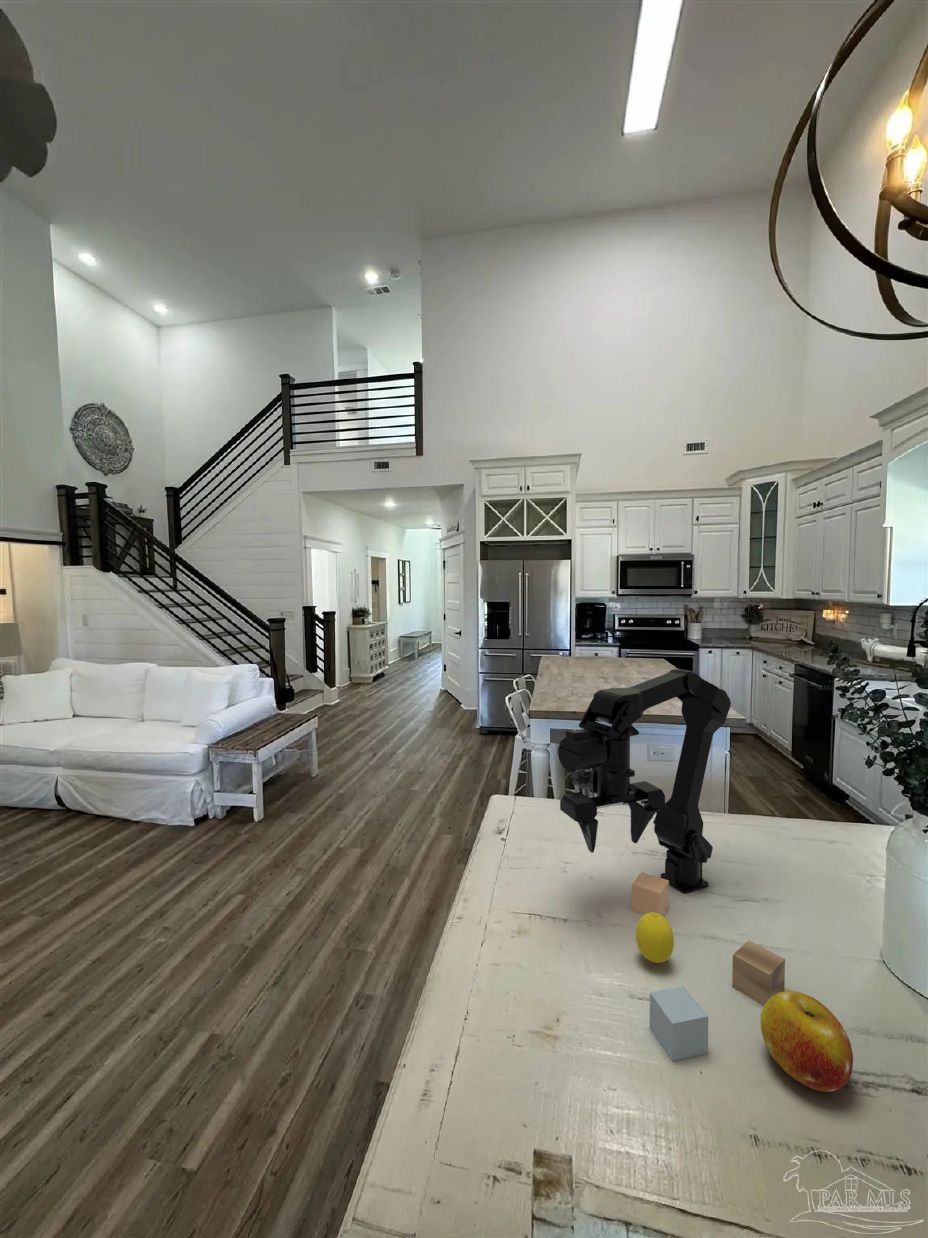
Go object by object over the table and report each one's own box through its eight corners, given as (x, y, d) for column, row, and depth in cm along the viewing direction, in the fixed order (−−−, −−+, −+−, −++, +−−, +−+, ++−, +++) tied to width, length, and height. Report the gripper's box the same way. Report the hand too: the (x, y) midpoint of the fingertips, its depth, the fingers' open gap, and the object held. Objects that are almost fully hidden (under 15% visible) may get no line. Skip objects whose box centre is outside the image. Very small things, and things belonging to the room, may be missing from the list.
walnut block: (748, 971, 78) (748, 940, 77) (784, 992, 74) (785, 959, 73) (732, 987, 75) (732, 954, 74) (769, 1009, 71) (769, 975, 70)
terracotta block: (641, 897, 97) (641, 871, 96) (668, 907, 94) (668, 880, 93) (632, 910, 93) (632, 883, 93) (660, 921, 90) (660, 893, 89)
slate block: (683, 1021, 69) (683, 986, 69) (708, 1054, 64) (708, 1016, 64) (649, 1028, 68) (649, 992, 68) (672, 1062, 63) (672, 1023, 63)
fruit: (874, 1101, 58) (876, 1034, 57) (805, 1117, 56) (806, 1048, 56) (804, 1030, 67) (805, 972, 67) (743, 1042, 66) (743, 982, 65)
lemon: (677, 978, 76) (677, 926, 76) (638, 973, 78) (638, 922, 77) (669, 952, 82) (670, 904, 81) (633, 948, 83) (633, 900, 83)
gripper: (628, 743, 101) (627, 819, 102) (544, 754, 95) (545, 835, 96) (667, 760, 91) (667, 845, 92) (577, 774, 85) (577, 865, 86)
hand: (612, 846), depth 92 cm, fingers open, 9 cm apart
